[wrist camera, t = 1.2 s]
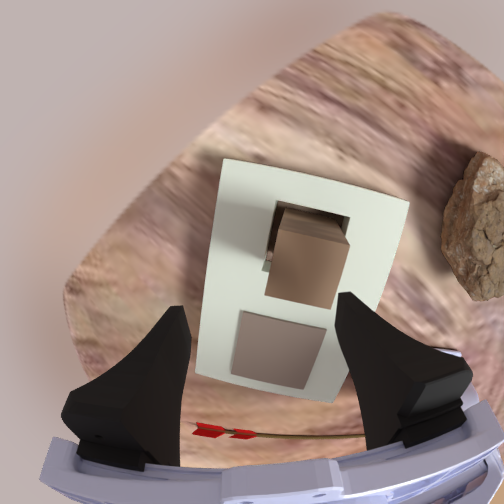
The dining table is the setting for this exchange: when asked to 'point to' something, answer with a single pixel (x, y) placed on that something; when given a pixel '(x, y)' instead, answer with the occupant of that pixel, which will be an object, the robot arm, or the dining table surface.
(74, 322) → the dining table surface
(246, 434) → the arrow
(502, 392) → the dining table surface
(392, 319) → the dining table surface
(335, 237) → the block
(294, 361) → the board
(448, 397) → the robot arm
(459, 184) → the rock
